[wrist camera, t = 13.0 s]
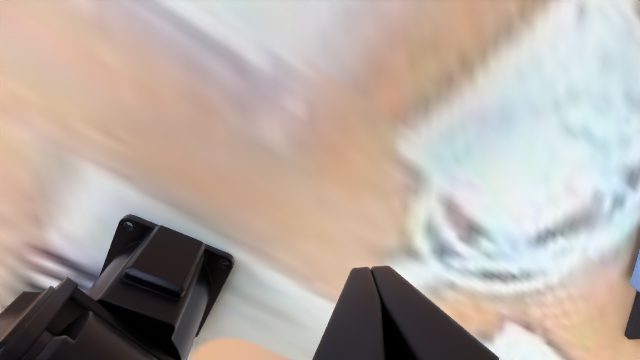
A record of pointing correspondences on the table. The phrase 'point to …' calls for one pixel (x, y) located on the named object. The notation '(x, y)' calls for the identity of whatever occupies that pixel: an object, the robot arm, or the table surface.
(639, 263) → the blue block
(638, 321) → the rubber mat
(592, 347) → the table surface
